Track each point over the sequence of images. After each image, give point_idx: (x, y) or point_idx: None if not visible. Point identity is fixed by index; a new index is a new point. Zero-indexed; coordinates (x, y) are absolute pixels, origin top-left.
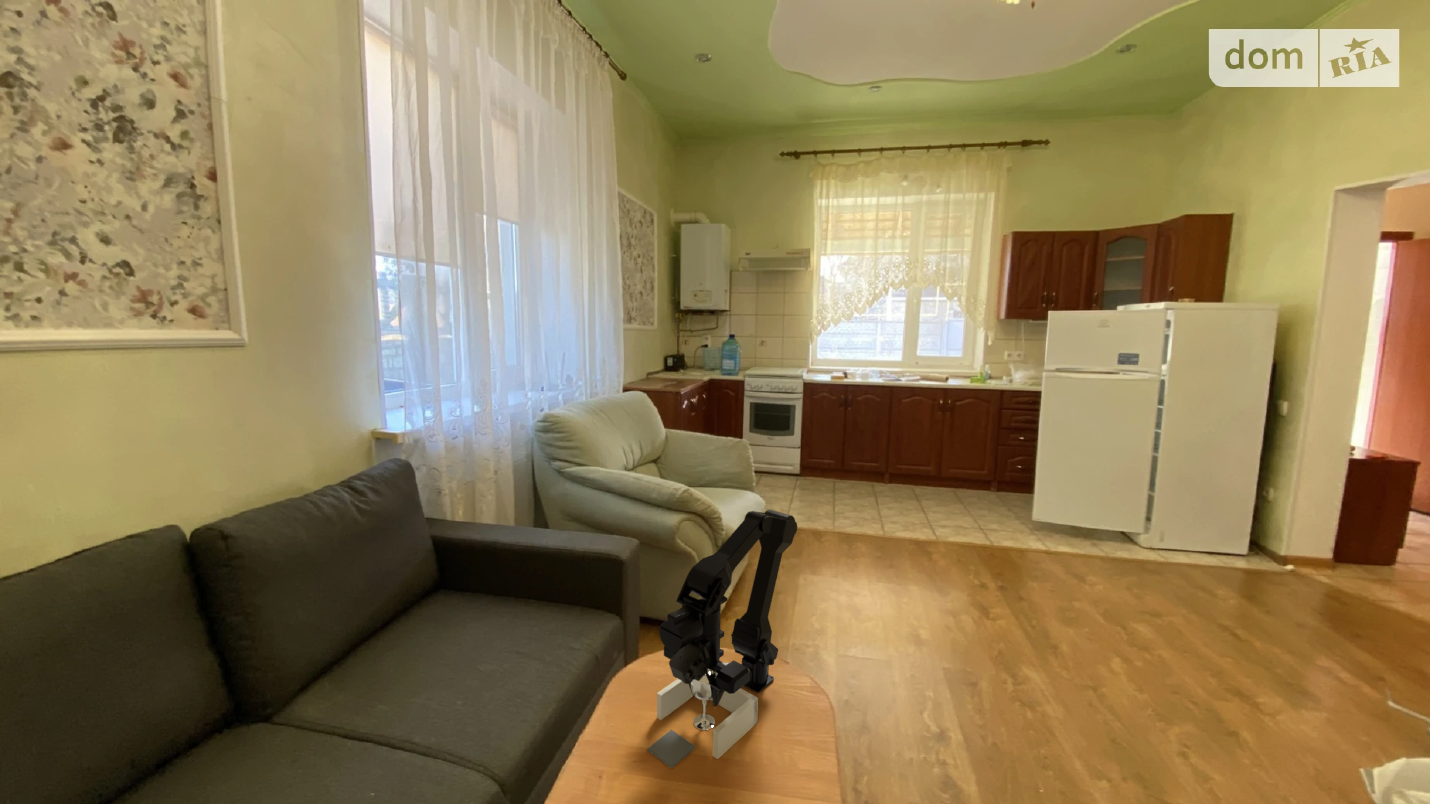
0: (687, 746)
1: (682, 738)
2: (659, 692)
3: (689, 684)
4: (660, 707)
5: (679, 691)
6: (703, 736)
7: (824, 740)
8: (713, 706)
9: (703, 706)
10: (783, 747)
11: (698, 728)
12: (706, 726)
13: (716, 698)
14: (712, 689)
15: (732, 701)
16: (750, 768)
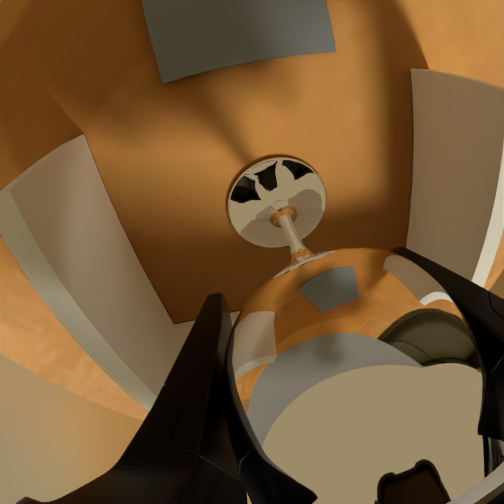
0: (185, 48)
1: (249, 56)
2: None
3: (451, 276)
4: (454, 76)
5: (456, 209)
6: (206, 154)
7: (64, 388)
8: (215, 295)
9: (301, 246)
10: (56, 335)
11: (262, 161)
12: (244, 197)
13: (175, 366)
14: (197, 431)
15: None
16: None
